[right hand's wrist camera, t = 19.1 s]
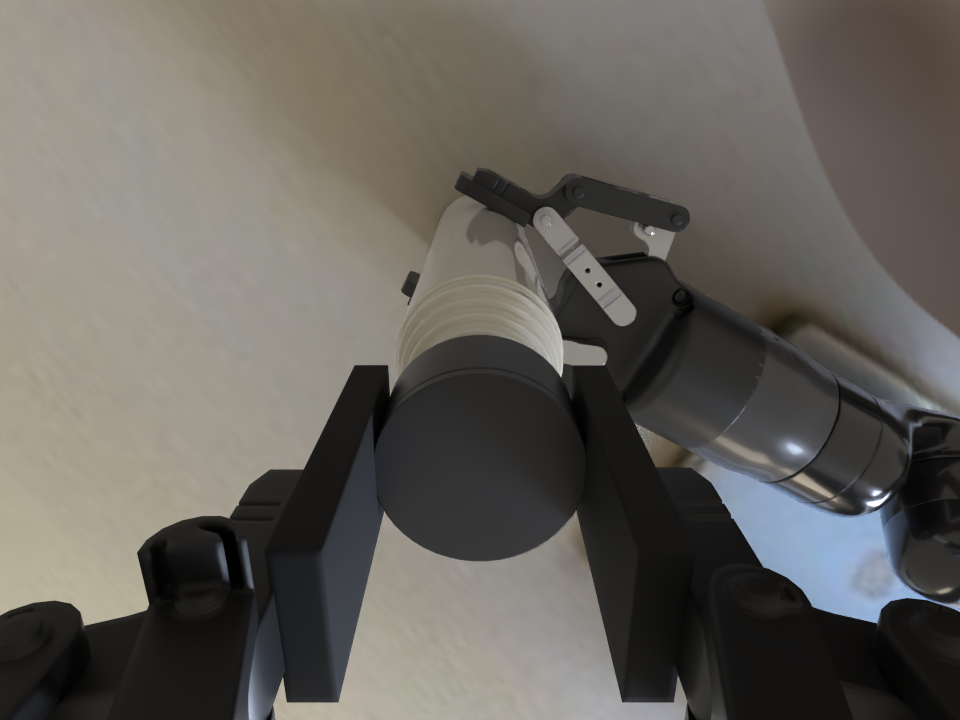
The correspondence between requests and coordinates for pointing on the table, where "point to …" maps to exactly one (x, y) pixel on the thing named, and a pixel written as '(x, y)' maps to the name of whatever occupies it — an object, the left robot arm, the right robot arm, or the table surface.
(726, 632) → the right robot arm
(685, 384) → the left robot arm
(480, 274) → the bottle
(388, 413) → the cap
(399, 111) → the table surface
